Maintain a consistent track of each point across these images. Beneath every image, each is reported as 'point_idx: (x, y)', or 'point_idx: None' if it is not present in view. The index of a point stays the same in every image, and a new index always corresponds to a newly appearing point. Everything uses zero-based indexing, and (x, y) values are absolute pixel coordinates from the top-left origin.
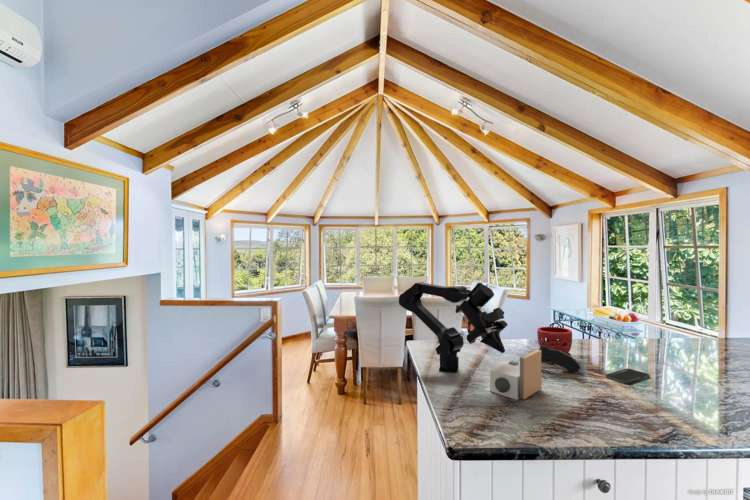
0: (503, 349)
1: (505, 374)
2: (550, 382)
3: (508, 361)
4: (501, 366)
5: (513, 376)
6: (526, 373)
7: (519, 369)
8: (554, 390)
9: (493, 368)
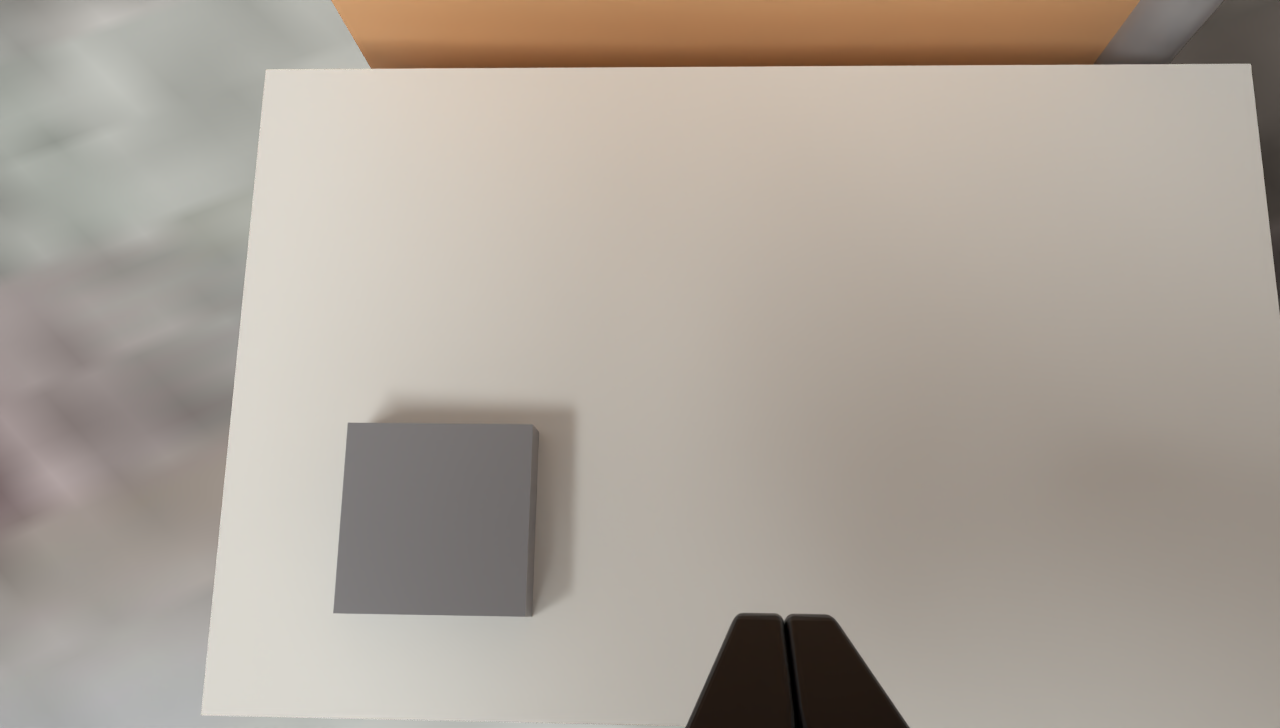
0: (827, 653)
1: (1272, 326)
2: (39, 170)
3: (360, 704)
4: (872, 645)
5: (1253, 143)
6: None
7: (745, 239)
8: (329, 16)
9: (1171, 725)
